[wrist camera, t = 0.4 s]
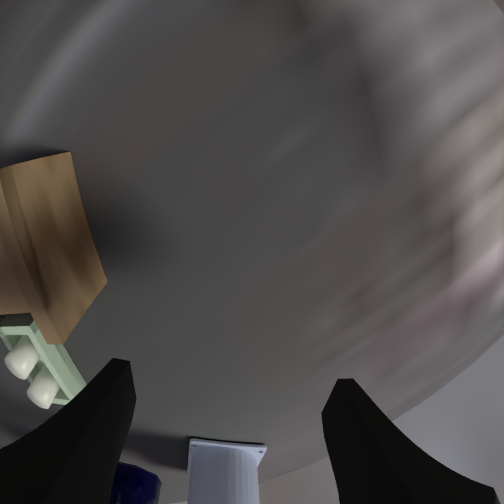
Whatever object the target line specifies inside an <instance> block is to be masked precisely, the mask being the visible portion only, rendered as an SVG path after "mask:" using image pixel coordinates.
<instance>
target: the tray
mask: <svg viewBox="0 0 504 504" xmlns="http://www.w3.org/2000/svg"><path fill="white" fill-rule="evenodd" d="M0 336H1V338H2V340H3V341H4V343H5V345H6V347H7V348H8V350H9V353H8V355H7V356H6V357H5V364H6V366H7V367H8V369H9V370H10V371H11V372H12V373H13V374H14V375H15V376H16V377H18V378H20V379H26V378H27V379H28V381H29V382H30V384H31V385H30V387H29V388H28V390H27V395H28V397H29V398H30V399H31V401H32V402H34V403H35V404H36V405H38V406H39V407H41V408H44V409H48V408H49V407H50V405H51V403H55V404H63V405H66V404H67V403H68V402H70V401H71V400H72V399H73V398H74V397H75V396H76V395H77V394H78V393H79V392H80V391H81V390H82V389H83V388H84V387H85V386H86V385H87V384H86V382H85V380H84V379H83V377H82V376H81V374H80V373H79V371H78V369H77V368H76V366H75V364H74V363H73V361H72V359H71V358H70V356H69V354H68V353H67V351H66V349H65V347H64V346H63V344H47V343H46V341H45V339H44V337H43V336H42V334H41V332H40V330H39V328H38V326H37V324H36V322H35V320H34V319H33V317H32V315H31V312H30V313H18V314H7V315H6V316H5V317H4V318H3V319H2V320H1V322H0Z"/></svg>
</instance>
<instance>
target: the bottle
mask: <svg viewBox="0 0 504 504" xmlns="http://www.w3.org/2000/svg"><path fill="white" fill-rule="evenodd" d="M161 484H162V483H161V482H160V480H159V478H158V476H157V475H155V474H152V473H150V472H148V471H146V470H144V469H141V468H139V467H137V466H135V465H130V464H125V463H120V462H118V465H117V468H116V471H115V475H114V479H113V484H112V490H111V496H110V504H158V501H159V494H160V488H161Z"/></svg>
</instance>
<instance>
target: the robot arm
mask: <svg viewBox="0 0 504 504" xmlns="http://www.w3.org/2000/svg"><path fill="white" fill-rule="evenodd" d="M135 403H136V394H135V388H134V383H133V377H132V371H131V365H130V361H127V360H122V359H117V358H113V359H111V360H110V361H109V362H108V363H107V365H106V366H105V367H104V368H103V369H102V370H101V371H100V372H99V373H98V374H97V375H96V376H95V377H94V378H93V379H92V380H91V381H90V382H89V383H88V384H87V385H86V386H85V387H84V388H83V389H82V390H81V391H80V392H79V393H78V394H77V395H76V396H75V397H74V398H73V399H72V400H71V401H70V402H68V403H67V404H66V405H65V406H64V407H63V408H62V409H60V410H59V411H58V412H57V413H56V414H55V415H53V416H52V417H51V418H50V419H48V420H47V421H46V422H44V423H43V424H42V425H40V426H39V427H37V428H36V429H34V430H33V431H31V432H30V433H28V434H27V435H25V436H23V437H22V438H20V439H19V440H17V441H15V442H13V443H11V444H9V445H7V446H5V447H3V448H1V449H0V504H110V496H111V490H112V484H113V479H114V475H115V471H116V468H117V465H118V462H119V459H120V455H121V452H122V449H123V446H124V443H125V440H126V437H127V434H128V431H129V428H130V425H131V422H132V417H133V413H134V408H135ZM321 414H322V423H323V431H324V438H325V442H326V446H327V450H328V453H329V457H330V461H331V465H332V468H333V472H334V476H335V480H336V483H337V488H338V493H339V501H340V504H500V501H499V499H498V497H497V495H496V493H495V490H494V488H493V487H490V486H487V485H484V484H481V483H478V482H476V481H473V480H471V479H469V478H467V477H465V476H462V475H460V474H458V473H457V472H455V471H453V470H451V469H449V468H448V467H446V466H444V465H443V464H441V463H440V462H438V461H437V460H435V459H434V458H432V457H431V456H429V455H428V454H427V453H425V452H424V451H423V450H422V449H420V448H419V447H418V446H417V445H415V444H414V443H413V442H412V441H411V440H410V439H409V438H408V437H406V436H405V435H404V434H403V433H402V432H401V431H400V430H399V429H398V428H397V427H396V426H395V425H394V424H393V423H392V422H391V421H390V420H389V419H388V418H387V416H386V415H385V414H384V413H383V412H382V411H381V410H380V409H379V408H378V407H377V405H376V404H375V403H374V402H373V401H372V400H371V399H370V397H369V396H368V395H367V394H366V393H365V392H364V390H363V389H362V388H361V387H360V386H359V385H358V384H357V382H356V381H355V380H354V379H337V382H336V384H335V386H334V388H333V390H332V392H331V395H330V397H329V399H328V401H327V403H326V405H325V407H324V409H323V411H322V413H321ZM266 450H267V446H265V445H255V444H240V443H229V442H219V441H210V440H203V439H195V438H192V439H190V444H189V455H188V467H187V473H188V474H190V483H189V495H188V504H259V489H258V471H257V467H258V465H259V463H260V461H261V459H262V458H263V456H264V454H265V452H266Z"/></svg>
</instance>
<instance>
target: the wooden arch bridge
mask: <svg viewBox="0 0 504 504" xmlns="http://www.w3.org/2000/svg"><path fill="white" fill-rule="evenodd" d="M106 283H107V279H106V276H105V273H104V271H103V268H102V265H101V262H100V259H99V256H98V253H97V250H96V247H95V244H94V241H93V238H92V235H91V231H90V228H89V225H88V221H87V218H86V214H85V211H84V207H83V203H82V200H81V196H80V192H79V188H78V184H77V179H76V175H75V171H74V166H73V161H72V157H71V152H66V153H61V154H56V155H51V156H47V157H43V158H38V159H34V160H30V161H26V162H22V163H18V164H15V165H11V166H7V167H4V168H0V315H4V314H18V313H30V312H31V315H32V317H33V319H34V320H35V322H36V324H37V326H38V328H39V330H40V332H41V334H42V336H43V337H44V339H45V341H46V343H47V344H63V343H64V342H65V340H66V339H67V337H68V336H69V334H70V333H71V332H72V330H73V329H74V327H75V326H76V324H77V323H78V322H79V320H80V319H81V317H82V316H83V314H84V313H85V312H86V310H87V309H88V308H89V306H90V305H91V303H92V302H93V301H94V299H95V298H96V297H97V295H98V294H99V293H100V291H101V290H102V289H103V287H104V286H105V285H106Z"/></svg>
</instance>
